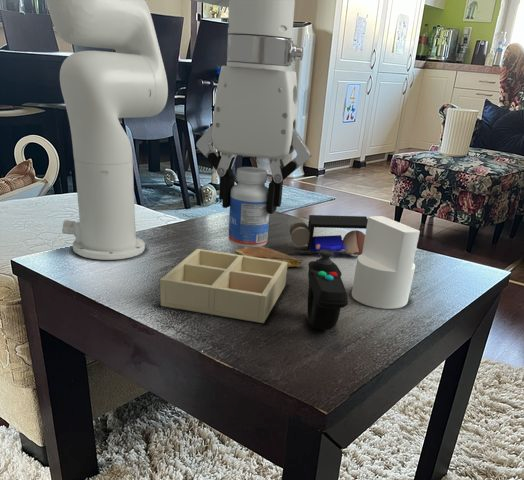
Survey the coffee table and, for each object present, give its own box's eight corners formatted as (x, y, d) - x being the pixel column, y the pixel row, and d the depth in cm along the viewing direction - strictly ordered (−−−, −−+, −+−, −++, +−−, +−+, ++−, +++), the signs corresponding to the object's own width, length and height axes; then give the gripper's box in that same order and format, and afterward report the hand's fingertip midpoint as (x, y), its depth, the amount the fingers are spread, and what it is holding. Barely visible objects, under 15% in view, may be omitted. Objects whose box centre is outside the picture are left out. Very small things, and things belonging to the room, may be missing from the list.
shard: (302, 268, 96) (303, 258, 95) (273, 277, 91) (274, 267, 90) (259, 252, 102) (260, 243, 101) (230, 259, 97) (230, 250, 96)
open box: (160, 305, 77) (160, 279, 75) (196, 271, 90) (197, 248, 88) (263, 323, 74) (266, 296, 73) (285, 285, 88) (287, 261, 86)
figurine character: (291, 263, 102) (370, 260, 102) (290, 224, 98) (372, 221, 98) (289, 252, 108) (364, 249, 108) (289, 215, 104) (365, 212, 104)
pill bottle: (227, 236, 76) (230, 164, 71) (264, 237, 77) (269, 166, 72) (229, 247, 71) (232, 172, 67) (269, 249, 72) (275, 174, 67)
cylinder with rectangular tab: (419, 304, 85) (436, 230, 79) (375, 312, 81) (389, 234, 75) (383, 284, 92) (396, 214, 86) (340, 290, 88) (351, 217, 82)
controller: (329, 311, 80) (338, 246, 75) (343, 350, 69) (355, 277, 64) (300, 309, 80) (308, 244, 75) (310, 348, 69) (320, 275, 64)
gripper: (334, 61, 65) (316, 210, 74) (200, 51, 68) (198, 195, 76) (326, 60, 58) (308, 223, 67) (178, 48, 61) (179, 206, 70)
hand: (249, 207), depth 72 cm, fingers closed on pill bottle, 5 cm apart
